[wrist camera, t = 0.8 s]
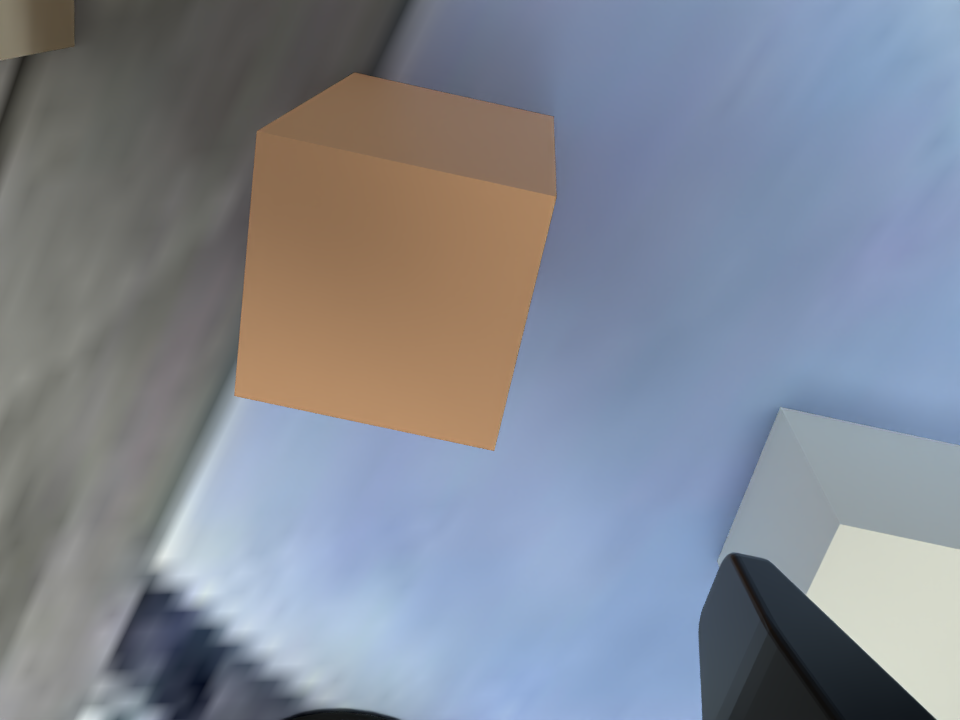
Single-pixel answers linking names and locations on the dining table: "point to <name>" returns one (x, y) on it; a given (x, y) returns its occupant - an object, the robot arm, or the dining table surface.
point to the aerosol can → (339, 716)
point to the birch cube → (35, 26)
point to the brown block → (394, 257)
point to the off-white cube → (866, 541)
